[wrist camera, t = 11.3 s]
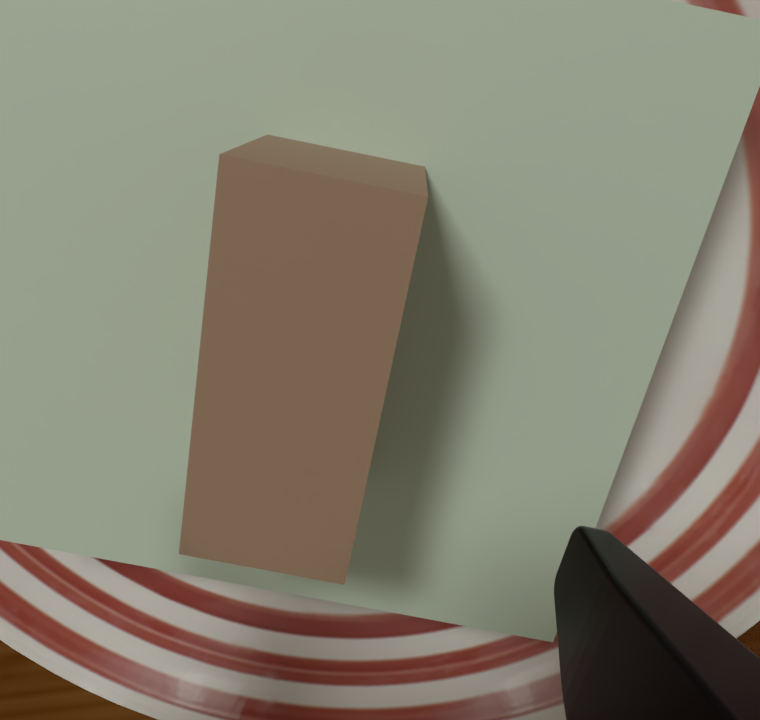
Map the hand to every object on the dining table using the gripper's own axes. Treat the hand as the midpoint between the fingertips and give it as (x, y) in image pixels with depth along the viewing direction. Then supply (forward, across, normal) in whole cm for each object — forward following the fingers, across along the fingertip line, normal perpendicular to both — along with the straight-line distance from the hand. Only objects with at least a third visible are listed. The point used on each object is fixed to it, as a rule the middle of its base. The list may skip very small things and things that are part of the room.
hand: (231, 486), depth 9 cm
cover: (+7, 0, 0) cm, 7 cm away
